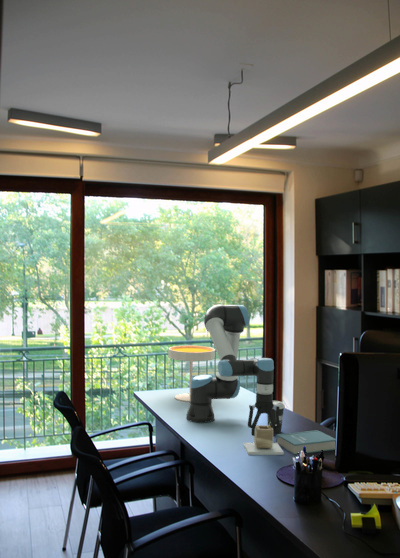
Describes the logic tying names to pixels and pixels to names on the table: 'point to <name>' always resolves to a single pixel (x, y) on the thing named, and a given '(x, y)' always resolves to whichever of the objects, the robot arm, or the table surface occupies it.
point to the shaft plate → (263, 449)
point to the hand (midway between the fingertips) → (263, 442)
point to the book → (306, 441)
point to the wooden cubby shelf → (264, 436)
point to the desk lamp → (190, 355)
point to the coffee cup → (281, 409)
